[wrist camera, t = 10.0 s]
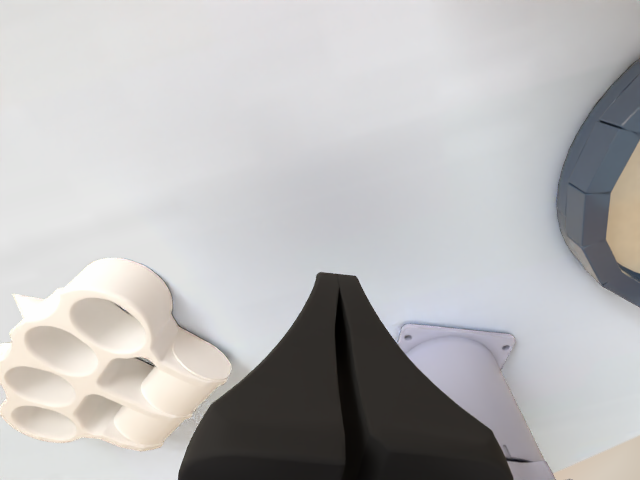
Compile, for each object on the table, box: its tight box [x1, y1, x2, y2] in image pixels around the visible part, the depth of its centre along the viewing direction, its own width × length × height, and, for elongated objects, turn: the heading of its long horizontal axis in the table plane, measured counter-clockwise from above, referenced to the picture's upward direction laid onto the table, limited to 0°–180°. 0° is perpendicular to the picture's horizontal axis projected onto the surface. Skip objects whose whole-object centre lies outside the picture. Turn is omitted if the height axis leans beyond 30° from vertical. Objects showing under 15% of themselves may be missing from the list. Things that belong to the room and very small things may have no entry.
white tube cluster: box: [0, 258, 231, 451], centre depth 26 cm, size 3×18×15 cm
